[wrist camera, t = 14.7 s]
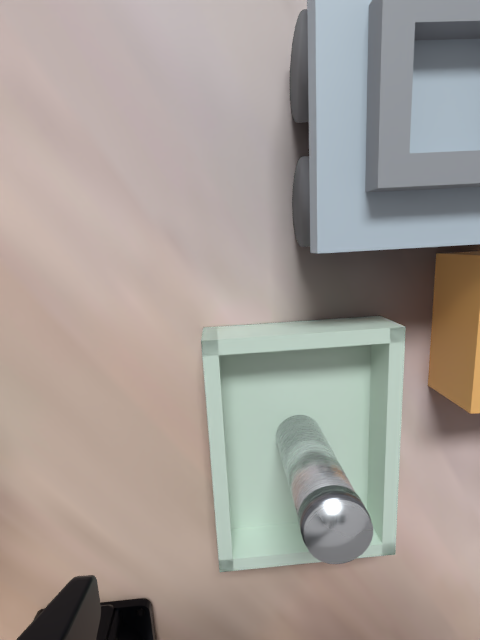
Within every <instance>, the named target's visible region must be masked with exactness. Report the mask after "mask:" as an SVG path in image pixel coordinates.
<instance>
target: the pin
mask: <svg viewBox="0 0 480 640" xmlns="http://www.w3.org/2000/svg"><path fill="white" fill-rule="evenodd" d="M276 443H277V446H278V450H279V453H280V457H281V460H282V464H283V467H284V470H285V474H286V477H287V481H288V484H289V488H290V491H291V495H292V498H293V501H294V505H295V508H296V512H297V515H298V523H299V527H300V531H301V534H302V538H303V541H304V543H305V545H306V547H307V548H308V550H309V552H310V553H311V554H312V555H313V556H314V557H315V558H316V559H318V560H320V561H322V562H325V563H329V564H342V563H346V562H349V561H352V560H354V559H356V558H357V557H359V556H360V555H362V554H363V553H364V552H365V551H366V549H367V548H368V547H369V545H370V543H371V541H372V538H373V525H372V522H371V518H370V515H369V513H368V511H367V510H366V508H365V506H364V504H363V502H362V501H361V499H360V497H359V496H358V495H357V494H356V492H355V491H354V489H353V487H352V485H351V483H350V481H349V480H348V478H347V476H346V474H345V472H344V470H343V469H342V467H341V465H340V463H339V461H338V460H337V458H336V456H335V454H334V452H333V450H332V449H331V447H330V445H329V443H328V441H327V439H326V438H325V436H324V434H323V432H322V430H321V428H320V427H319V425H318V423H317V422H316V421H315V420H314V419H312V418H311V417H309V416H305V415H294V416H291V417H289V418H287V419H285V420H284V421H283V422H282V423H281V424H280V425H279V427H278V429H277V431H276Z"/></svg>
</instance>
